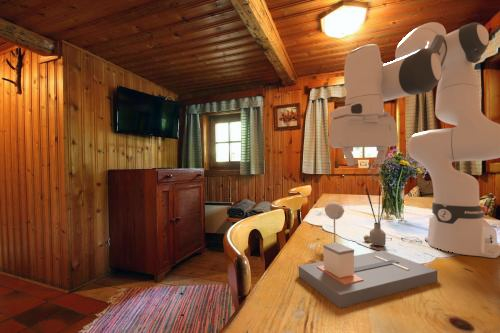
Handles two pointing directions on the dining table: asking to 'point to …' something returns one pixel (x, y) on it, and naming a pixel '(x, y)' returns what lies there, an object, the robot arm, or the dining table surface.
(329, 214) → the lollipop
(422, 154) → the robot arm
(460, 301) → the dining table surface
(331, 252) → the fader knob
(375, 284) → the console board
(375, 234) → the reed diffuser
